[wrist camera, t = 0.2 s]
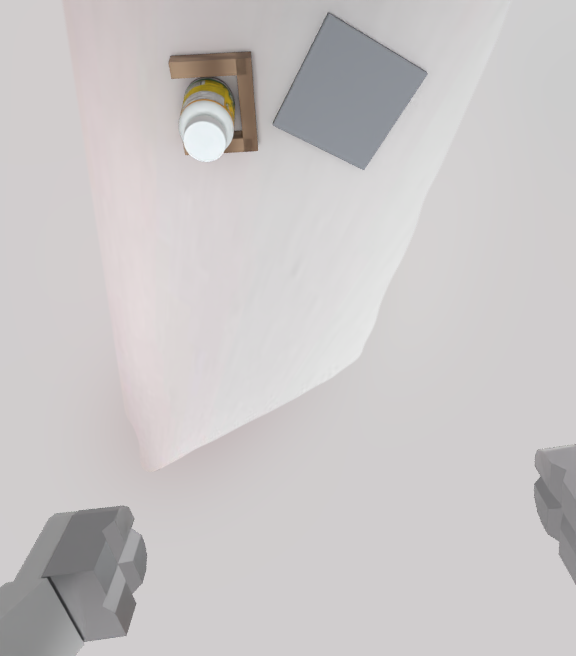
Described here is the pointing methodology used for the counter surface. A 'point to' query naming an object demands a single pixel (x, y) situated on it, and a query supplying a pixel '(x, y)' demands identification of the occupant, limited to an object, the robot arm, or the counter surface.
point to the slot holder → (243, 69)
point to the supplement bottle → (207, 119)
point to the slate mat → (348, 93)
